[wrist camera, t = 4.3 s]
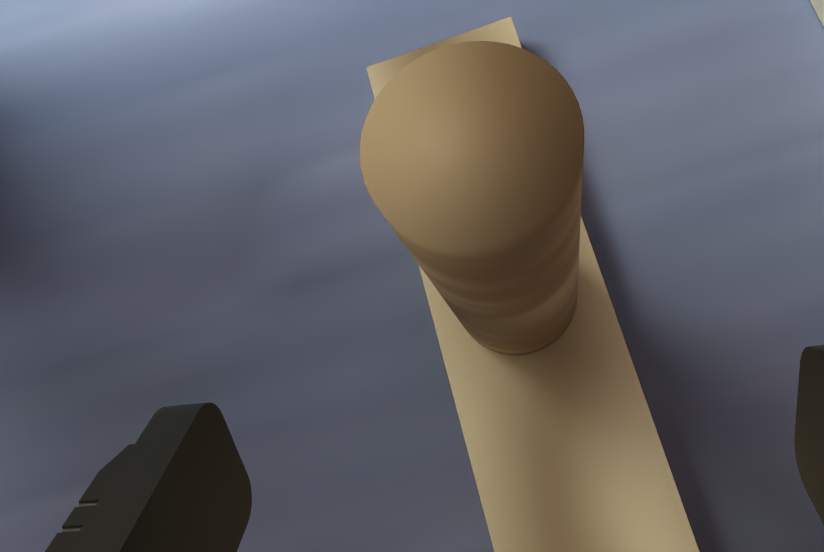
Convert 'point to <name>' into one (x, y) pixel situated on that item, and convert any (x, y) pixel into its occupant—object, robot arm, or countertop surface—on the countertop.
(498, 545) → the bar
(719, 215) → the countertop surface
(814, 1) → the stand
